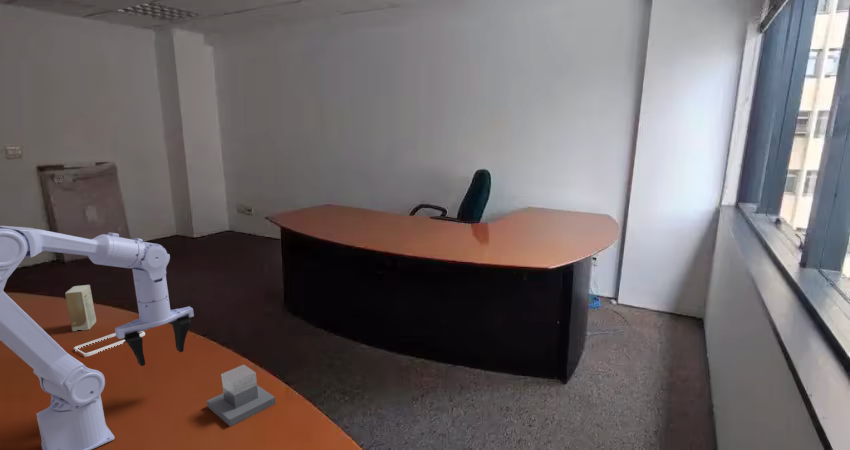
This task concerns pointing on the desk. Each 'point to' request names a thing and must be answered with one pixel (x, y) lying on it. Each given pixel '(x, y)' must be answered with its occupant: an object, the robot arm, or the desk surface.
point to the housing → (239, 386)
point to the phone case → (103, 347)
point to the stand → (242, 412)
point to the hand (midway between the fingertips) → (161, 357)
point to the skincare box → (80, 307)
